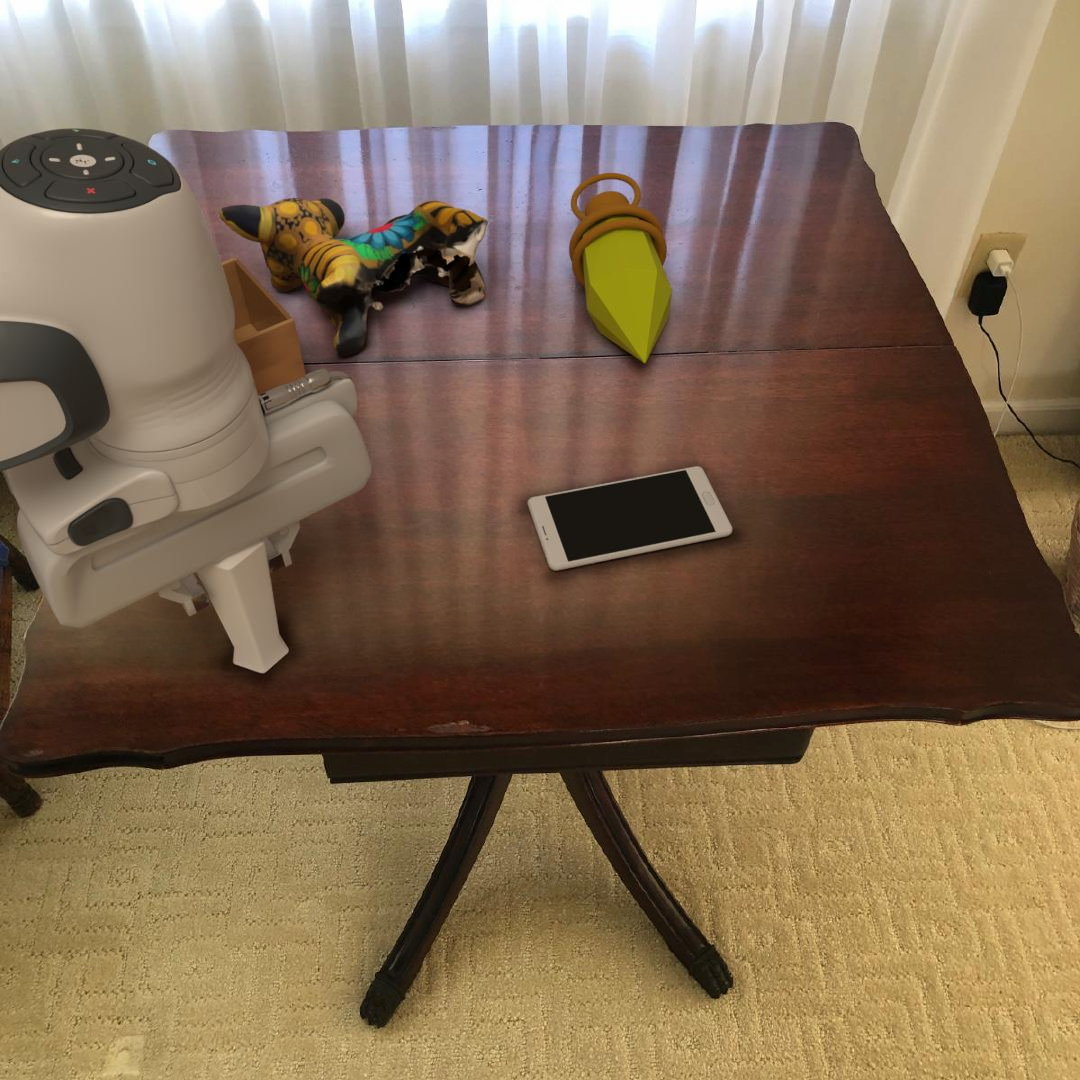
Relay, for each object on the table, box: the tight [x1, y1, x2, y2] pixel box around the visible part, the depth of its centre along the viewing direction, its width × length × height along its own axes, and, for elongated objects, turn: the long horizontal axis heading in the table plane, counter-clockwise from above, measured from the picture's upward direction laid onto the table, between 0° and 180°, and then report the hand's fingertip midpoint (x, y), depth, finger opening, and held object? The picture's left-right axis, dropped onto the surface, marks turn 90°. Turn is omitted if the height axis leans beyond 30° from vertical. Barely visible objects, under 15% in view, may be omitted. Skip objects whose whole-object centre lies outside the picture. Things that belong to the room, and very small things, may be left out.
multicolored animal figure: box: [218, 197, 489, 357], centre depth 93 cm, size 20×12×18 cm
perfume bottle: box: [195, 538, 290, 674], centre depth 65 cm, size 5×4×15 cm
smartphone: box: [527, 465, 733, 572], centre depth 78 cm, size 8×1×15 cm
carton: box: [221, 256, 307, 395], centre depth 86 cm, size 10×11×7 cm
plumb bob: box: [568, 172, 673, 364], centre depth 93 cm, size 9×9×25 cm
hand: (236, 583), depth 64 cm, fingers closed on perfume bottle, 4 cm apart
